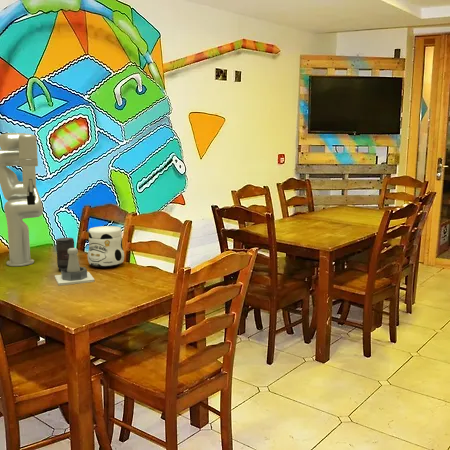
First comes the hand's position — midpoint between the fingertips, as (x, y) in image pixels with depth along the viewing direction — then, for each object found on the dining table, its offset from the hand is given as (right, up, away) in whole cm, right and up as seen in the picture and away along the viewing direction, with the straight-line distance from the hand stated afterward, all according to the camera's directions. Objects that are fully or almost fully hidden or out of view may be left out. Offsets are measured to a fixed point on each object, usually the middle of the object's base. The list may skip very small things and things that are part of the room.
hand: (31, 204), depth 243 cm
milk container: (+28, -29, +23) cm, 46 cm away
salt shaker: (+20, -32, -2) cm, 38 cm away
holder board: (+20, -33, -2) cm, 38 cm away
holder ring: (+20, -33, -2) cm, 38 cm away
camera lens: (+12, -30, +14) cm, 35 cm away
